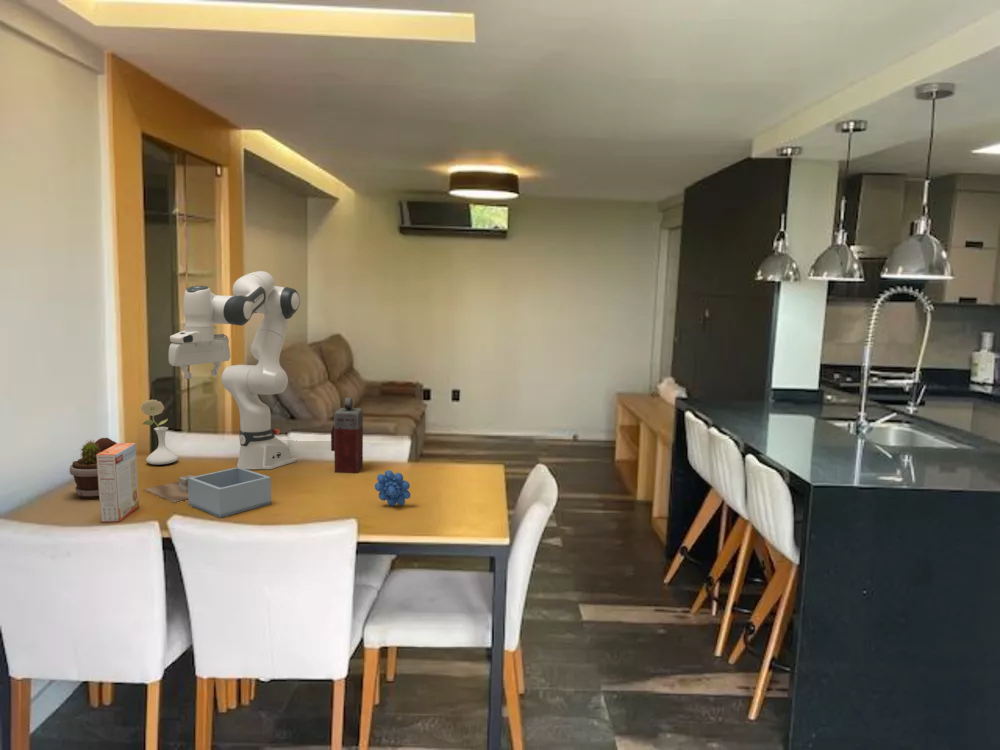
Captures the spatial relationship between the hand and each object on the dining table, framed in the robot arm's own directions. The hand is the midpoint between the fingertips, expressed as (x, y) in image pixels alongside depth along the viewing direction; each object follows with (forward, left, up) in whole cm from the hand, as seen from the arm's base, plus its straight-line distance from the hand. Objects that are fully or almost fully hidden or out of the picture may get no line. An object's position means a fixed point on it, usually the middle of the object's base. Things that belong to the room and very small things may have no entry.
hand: (201, 376), depth 234 cm
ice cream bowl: (+15, -38, -40) cm, 57 cm away
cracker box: (+30, +3, -40) cm, 49 cm away
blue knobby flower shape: (-30, +59, -40) cm, 77 cm away
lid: (+4, -5, -40) cm, 40 cm away
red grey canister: (-49, +14, -40) cm, 65 cm away
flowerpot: (+26, -22, -40) cm, 52 cm away
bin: (+3, +19, -39) cm, 44 cm away
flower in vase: (-7, -45, -40) cm, 60 cm away
